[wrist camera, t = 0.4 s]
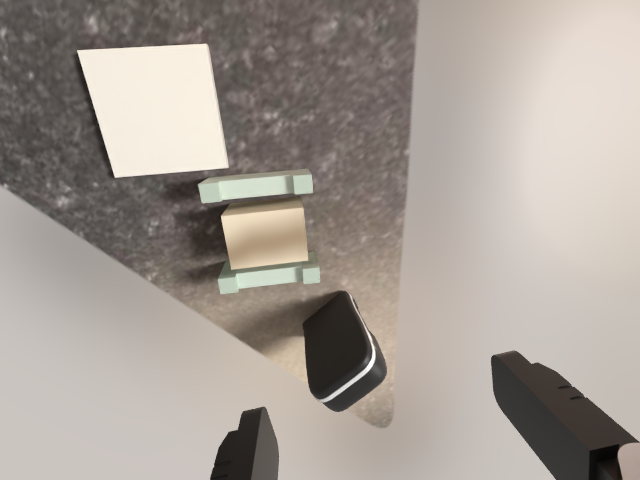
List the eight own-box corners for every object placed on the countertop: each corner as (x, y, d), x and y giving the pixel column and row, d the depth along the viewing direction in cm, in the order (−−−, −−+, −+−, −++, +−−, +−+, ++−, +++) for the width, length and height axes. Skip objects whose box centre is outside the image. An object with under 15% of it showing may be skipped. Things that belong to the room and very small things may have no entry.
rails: (209, 177, 29) (198, 184, 25) (307, 168, 30) (311, 174, 26) (228, 274, 33) (220, 294, 29) (315, 264, 34) (320, 282, 30)
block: (230, 203, 31) (220, 216, 26) (299, 196, 31) (303, 207, 27) (238, 249, 32) (231, 269, 28) (304, 242, 33) (308, 260, 28)
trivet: (83, 52, 25) (77, 50, 24) (208, 46, 26) (206, 43, 25) (119, 176, 28) (114, 177, 28) (228, 167, 29) (227, 167, 29)
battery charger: (320, 342, 37) (336, 427, 27) (299, 323, 36) (307, 404, 25) (365, 307, 36) (400, 380, 26) (345, 286, 35) (373, 354, 24)
